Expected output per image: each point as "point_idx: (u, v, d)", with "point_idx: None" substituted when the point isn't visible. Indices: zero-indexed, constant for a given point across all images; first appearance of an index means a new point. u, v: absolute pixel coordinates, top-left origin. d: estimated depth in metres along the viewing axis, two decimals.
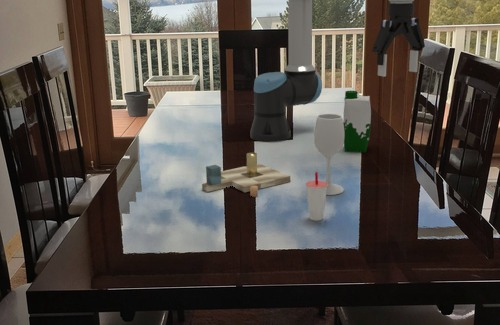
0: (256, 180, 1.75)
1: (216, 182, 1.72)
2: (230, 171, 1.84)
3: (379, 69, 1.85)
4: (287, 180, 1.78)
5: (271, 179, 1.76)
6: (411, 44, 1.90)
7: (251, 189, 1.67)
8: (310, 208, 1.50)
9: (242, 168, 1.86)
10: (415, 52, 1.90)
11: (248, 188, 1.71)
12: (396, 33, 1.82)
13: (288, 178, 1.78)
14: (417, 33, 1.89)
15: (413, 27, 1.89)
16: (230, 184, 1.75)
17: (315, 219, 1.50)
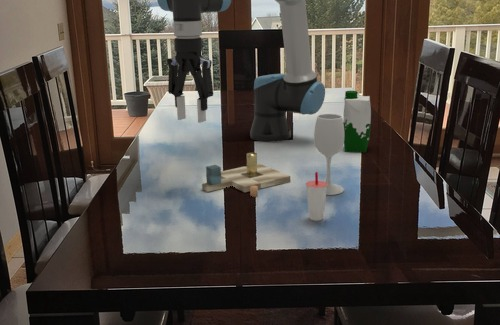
0: (256, 180, 1.75)
1: (216, 182, 1.72)
2: (230, 171, 1.84)
3: None
4: (287, 180, 1.78)
5: (271, 179, 1.76)
6: None
7: (251, 189, 1.67)
8: (310, 208, 1.50)
9: (242, 168, 1.86)
10: None
11: (248, 188, 1.71)
12: (179, 71, 1.69)
13: (288, 178, 1.78)
14: None
15: None
16: (230, 184, 1.75)
17: (315, 219, 1.50)
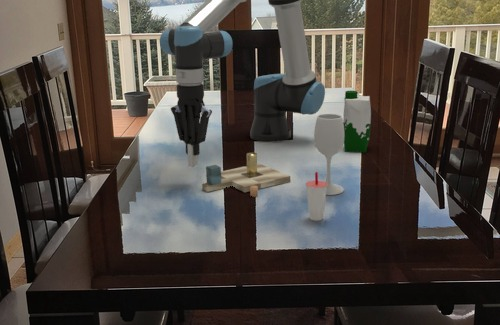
0: (256, 180, 1.75)
1: (216, 182, 1.72)
2: (230, 171, 1.84)
3: None
4: (287, 180, 1.78)
5: (271, 179, 1.76)
6: None
7: (251, 189, 1.67)
8: (310, 208, 1.50)
9: (242, 168, 1.86)
10: None
11: (248, 188, 1.71)
12: (184, 117, 1.72)
13: (288, 178, 1.78)
14: None
15: None
16: (230, 184, 1.75)
17: (315, 219, 1.50)
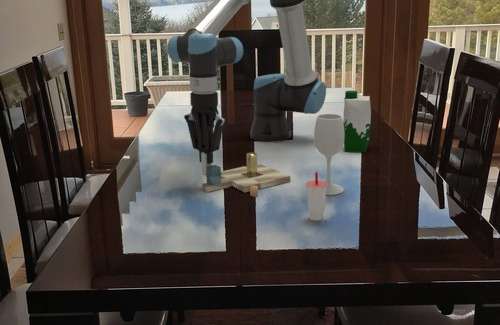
0: (256, 180, 1.75)
1: (216, 182, 1.72)
2: (230, 171, 1.84)
3: None
4: (287, 180, 1.78)
5: (271, 179, 1.76)
6: None
7: (251, 189, 1.67)
8: (310, 208, 1.50)
9: (242, 168, 1.86)
10: None
11: (248, 188, 1.71)
12: (197, 126, 1.70)
13: (288, 178, 1.78)
14: None
15: None
16: (230, 184, 1.75)
17: (315, 219, 1.50)
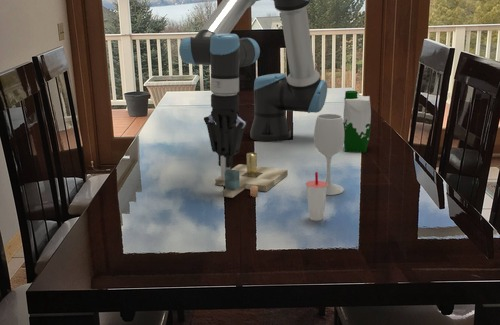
0: (266, 179, 1.76)
1: (237, 186, 1.69)
2: None
3: None
4: (286, 174, 1.84)
5: (277, 175, 1.79)
6: None
7: (251, 189, 1.67)
8: (310, 208, 1.50)
9: None
10: None
11: (268, 187, 1.72)
12: (217, 128, 1.65)
13: (286, 172, 1.84)
14: None
15: None
16: (244, 186, 1.73)
17: (315, 219, 1.50)
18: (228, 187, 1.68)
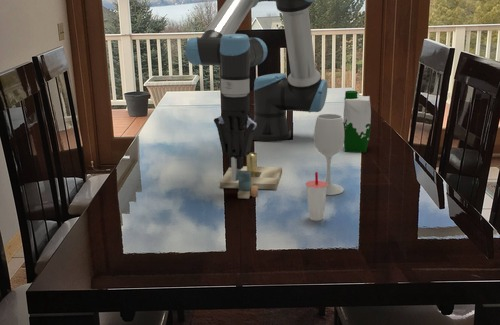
0: (269, 177, 1.77)
1: None
2: (228, 177, 1.78)
3: None
4: (281, 171, 1.86)
5: (277, 173, 1.81)
6: None
7: (251, 189, 1.67)
8: (310, 208, 1.50)
9: (230, 172, 1.83)
10: None
11: (276, 185, 1.73)
12: (228, 130, 1.64)
13: (281, 169, 1.86)
14: None
15: None
16: None
17: (315, 219, 1.50)
18: (242, 188, 1.67)
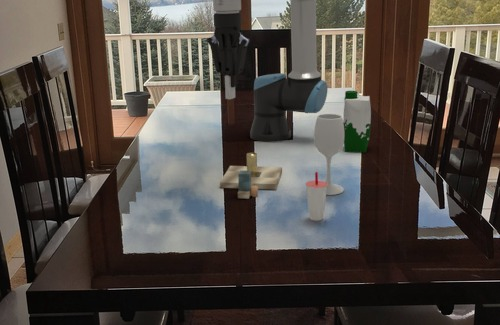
0: (269, 177, 1.77)
1: None
2: (228, 177, 1.78)
3: None
4: (281, 171, 1.86)
5: (277, 173, 1.81)
6: None
7: (251, 189, 1.67)
8: (310, 208, 1.50)
9: (230, 172, 1.83)
10: None
11: (276, 185, 1.73)
12: (221, 48, 1.68)
13: (281, 169, 1.86)
14: None
15: None
16: None
17: (315, 219, 1.50)
18: (242, 188, 1.67)
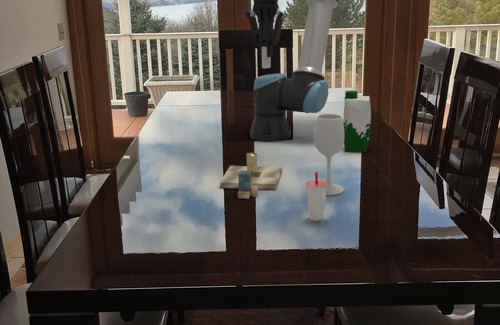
0: (269, 177, 1.77)
1: None
2: (228, 177, 1.78)
3: None
4: (281, 171, 1.86)
5: (277, 173, 1.81)
6: None
7: (251, 189, 1.67)
8: (310, 208, 1.50)
9: (230, 172, 1.83)
10: None
11: (276, 185, 1.73)
12: (259, 21, 1.85)
13: (281, 169, 1.86)
14: None
15: None
16: None
17: (315, 219, 1.50)
18: (242, 188, 1.67)
